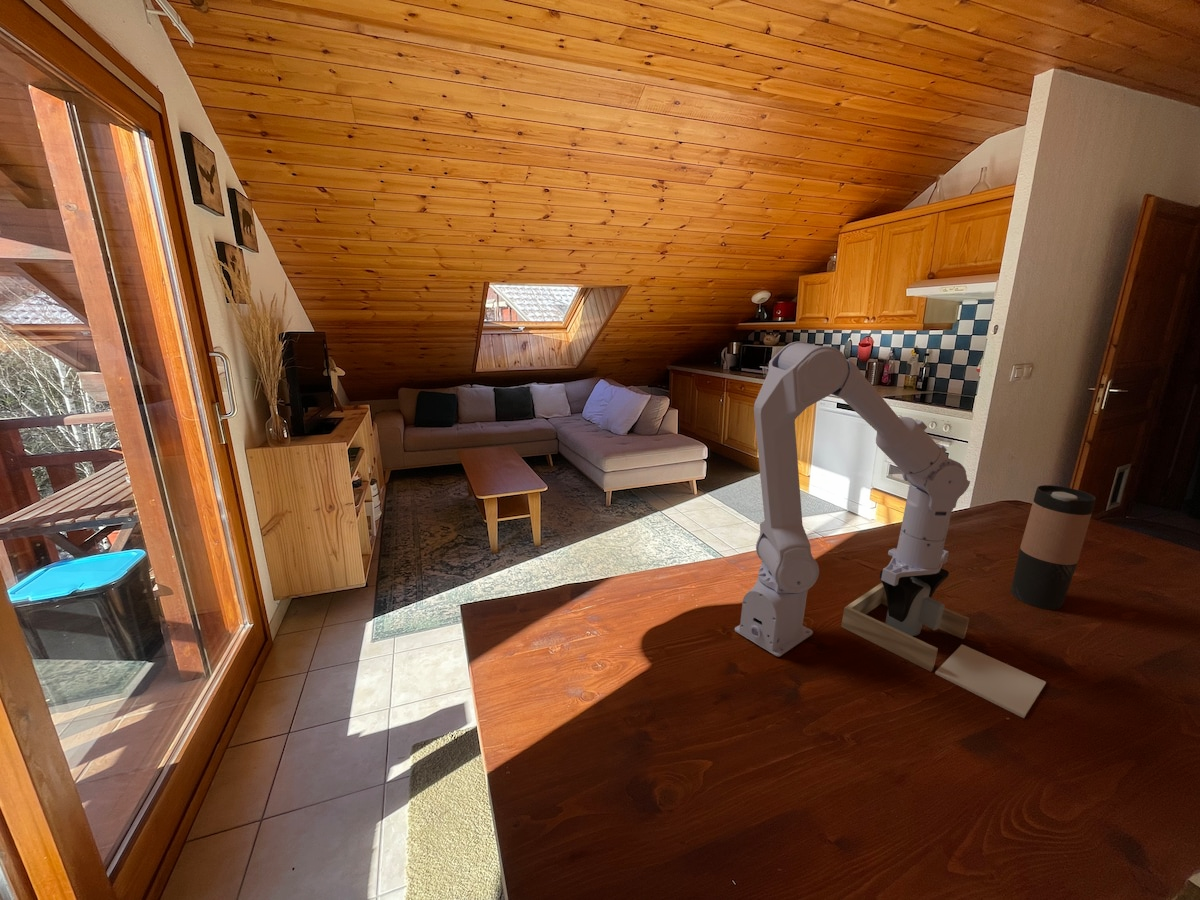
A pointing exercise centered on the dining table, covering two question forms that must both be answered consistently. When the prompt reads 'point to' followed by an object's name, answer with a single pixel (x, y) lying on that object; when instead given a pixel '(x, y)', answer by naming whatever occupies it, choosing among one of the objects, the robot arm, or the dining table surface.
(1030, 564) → the travel mug
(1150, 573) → the dining table surface
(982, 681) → the coaster
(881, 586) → the frame
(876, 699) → the dining table surface
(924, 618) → the grey domed cylinder
